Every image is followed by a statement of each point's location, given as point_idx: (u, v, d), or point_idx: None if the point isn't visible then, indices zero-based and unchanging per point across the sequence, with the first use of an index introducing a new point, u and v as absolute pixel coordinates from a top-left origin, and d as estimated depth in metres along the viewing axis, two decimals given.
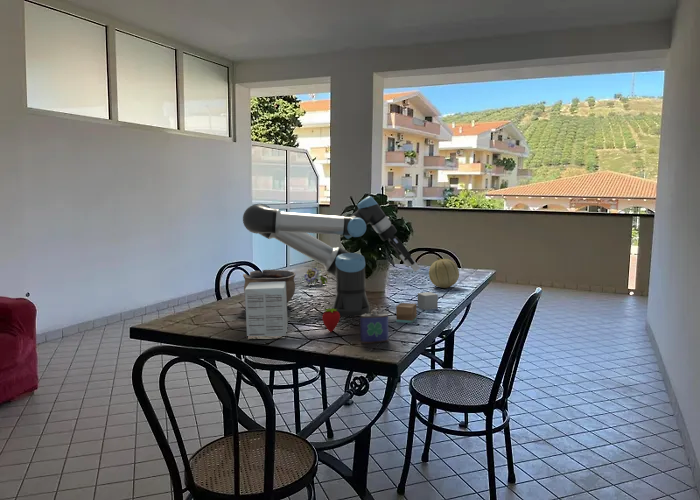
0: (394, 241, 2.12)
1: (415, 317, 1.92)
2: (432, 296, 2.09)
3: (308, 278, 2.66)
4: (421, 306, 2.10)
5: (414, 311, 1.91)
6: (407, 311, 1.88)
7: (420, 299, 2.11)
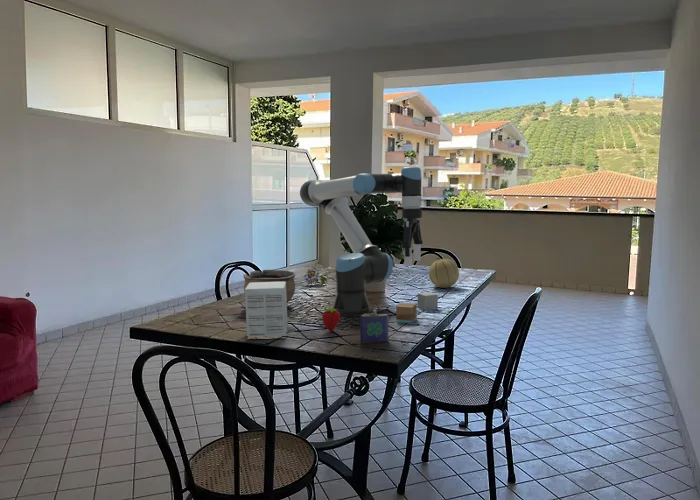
0: (405, 223, 1.90)
1: (415, 317, 1.92)
2: (432, 296, 2.09)
3: (308, 278, 2.66)
4: (421, 306, 2.10)
5: (414, 311, 1.91)
6: (407, 311, 1.88)
7: (420, 299, 2.11)
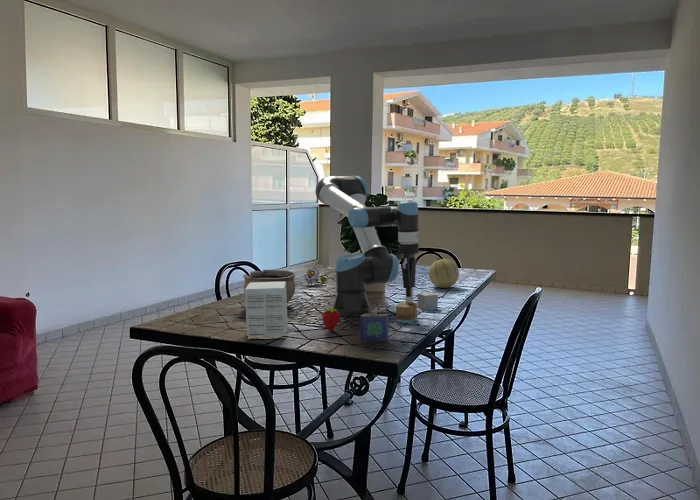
0: (402, 266, 1.87)
1: (416, 316, 1.92)
2: (432, 296, 2.09)
3: (308, 278, 2.66)
4: (421, 306, 2.10)
5: (414, 310, 1.90)
6: (407, 311, 1.88)
7: (420, 299, 2.11)
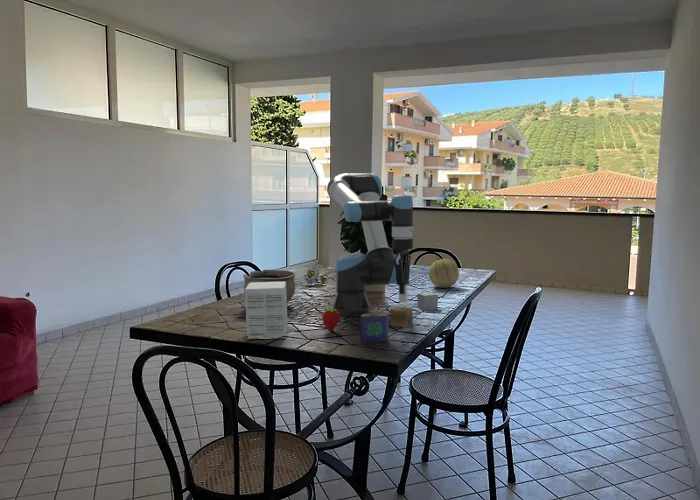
0: (395, 262, 1.80)
1: (411, 312, 1.86)
2: (432, 296, 2.09)
3: (308, 278, 2.66)
4: (421, 306, 2.10)
5: (408, 316, 1.84)
6: None
7: (420, 299, 2.11)
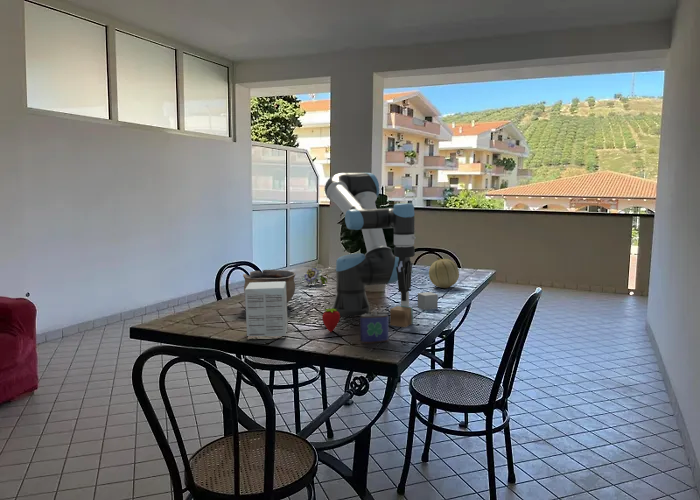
0: (397, 270, 1.82)
1: (411, 311, 1.86)
2: (432, 296, 2.09)
3: (308, 278, 2.66)
4: (421, 306, 2.10)
5: (407, 316, 1.84)
6: None
7: (420, 299, 2.11)
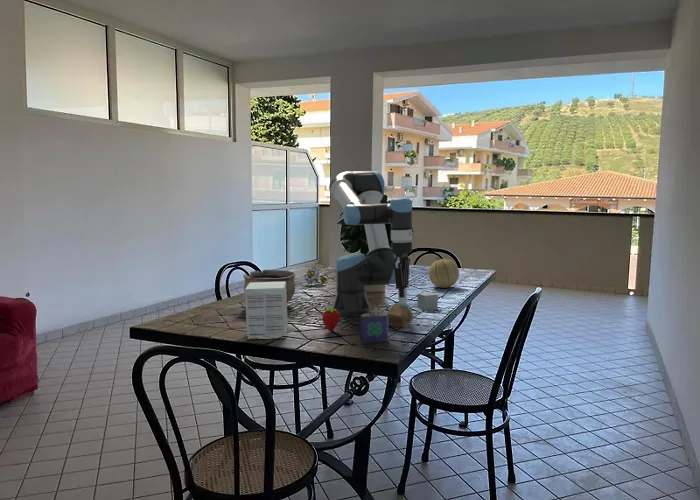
0: (395, 266, 1.79)
1: (408, 309, 1.83)
2: (432, 296, 2.09)
3: (308, 278, 2.66)
4: (421, 306, 2.10)
5: (405, 316, 1.82)
6: None
7: (420, 299, 2.11)
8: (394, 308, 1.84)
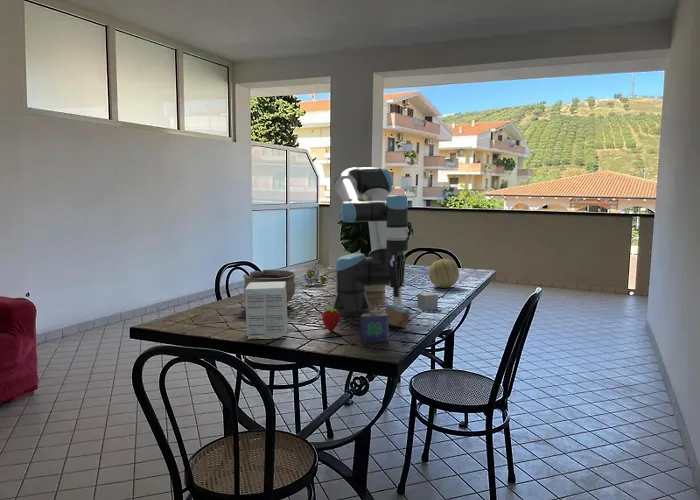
0: (389, 264, 1.75)
1: (402, 313, 1.78)
2: (432, 296, 2.09)
3: (308, 278, 2.66)
4: (421, 306, 2.10)
5: (401, 320, 1.79)
6: None
7: (420, 299, 2.11)
8: (389, 313, 1.80)
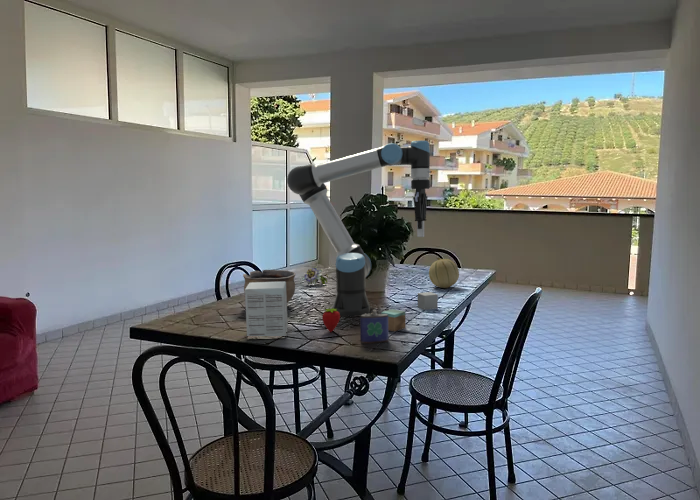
0: (414, 199, 2.04)
1: (397, 317, 1.78)
2: (432, 296, 2.09)
3: (308, 278, 2.66)
4: (421, 306, 2.10)
5: (398, 323, 1.79)
6: None
7: (420, 299, 2.11)
8: None
